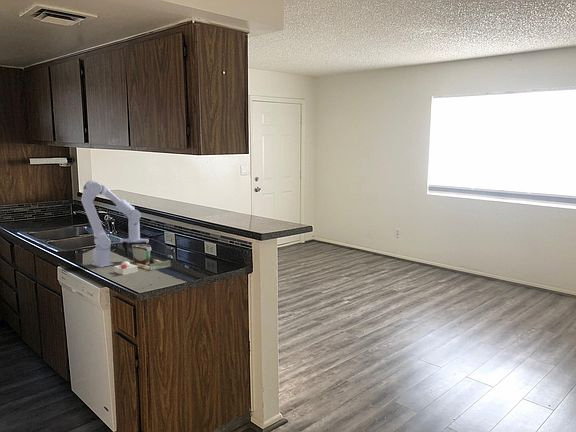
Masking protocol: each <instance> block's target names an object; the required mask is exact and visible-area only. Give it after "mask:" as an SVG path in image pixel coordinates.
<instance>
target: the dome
mask: <svg viewBox="0 0 576 432" xmlns="http://www.w3.org/2000/svg"><path fill="white" fill-rule="evenodd" d="M122 264H126V268H127V267H131V264H132V263H131V262H130V261H127V260H126V261H122V263H121V264H120V265H122Z"/></svg>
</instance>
